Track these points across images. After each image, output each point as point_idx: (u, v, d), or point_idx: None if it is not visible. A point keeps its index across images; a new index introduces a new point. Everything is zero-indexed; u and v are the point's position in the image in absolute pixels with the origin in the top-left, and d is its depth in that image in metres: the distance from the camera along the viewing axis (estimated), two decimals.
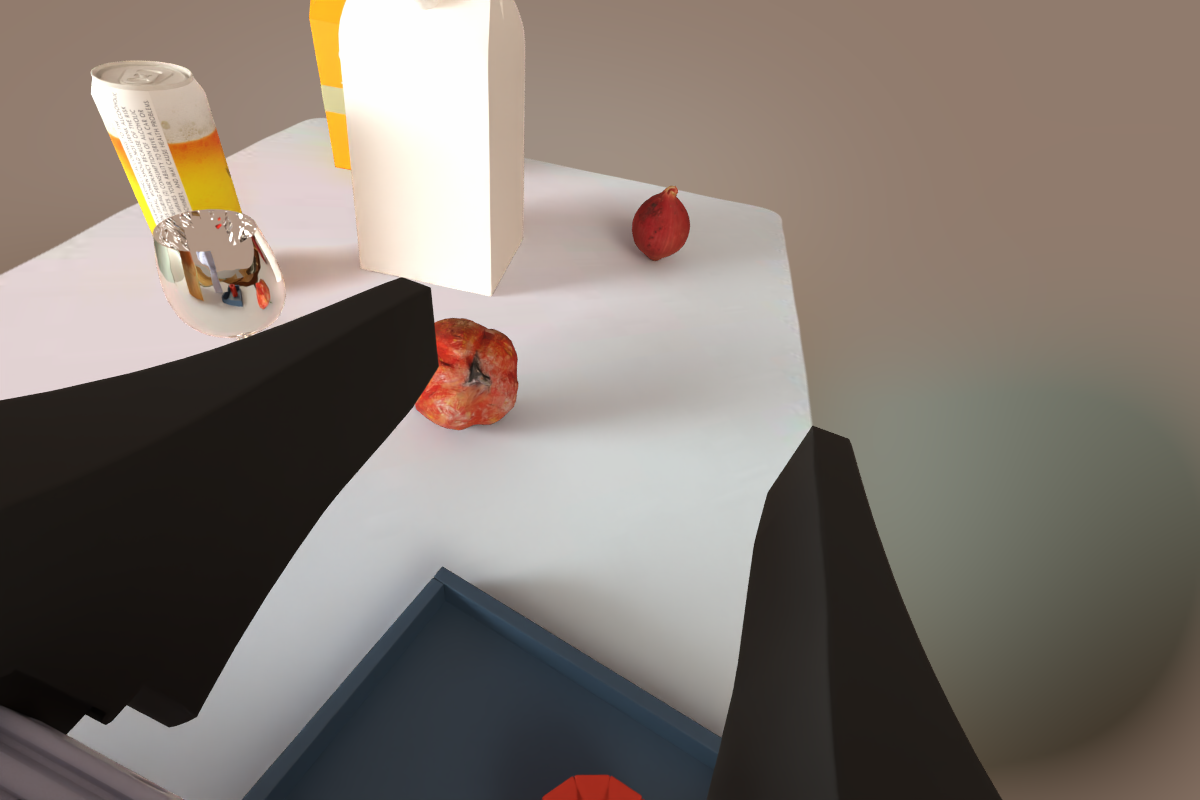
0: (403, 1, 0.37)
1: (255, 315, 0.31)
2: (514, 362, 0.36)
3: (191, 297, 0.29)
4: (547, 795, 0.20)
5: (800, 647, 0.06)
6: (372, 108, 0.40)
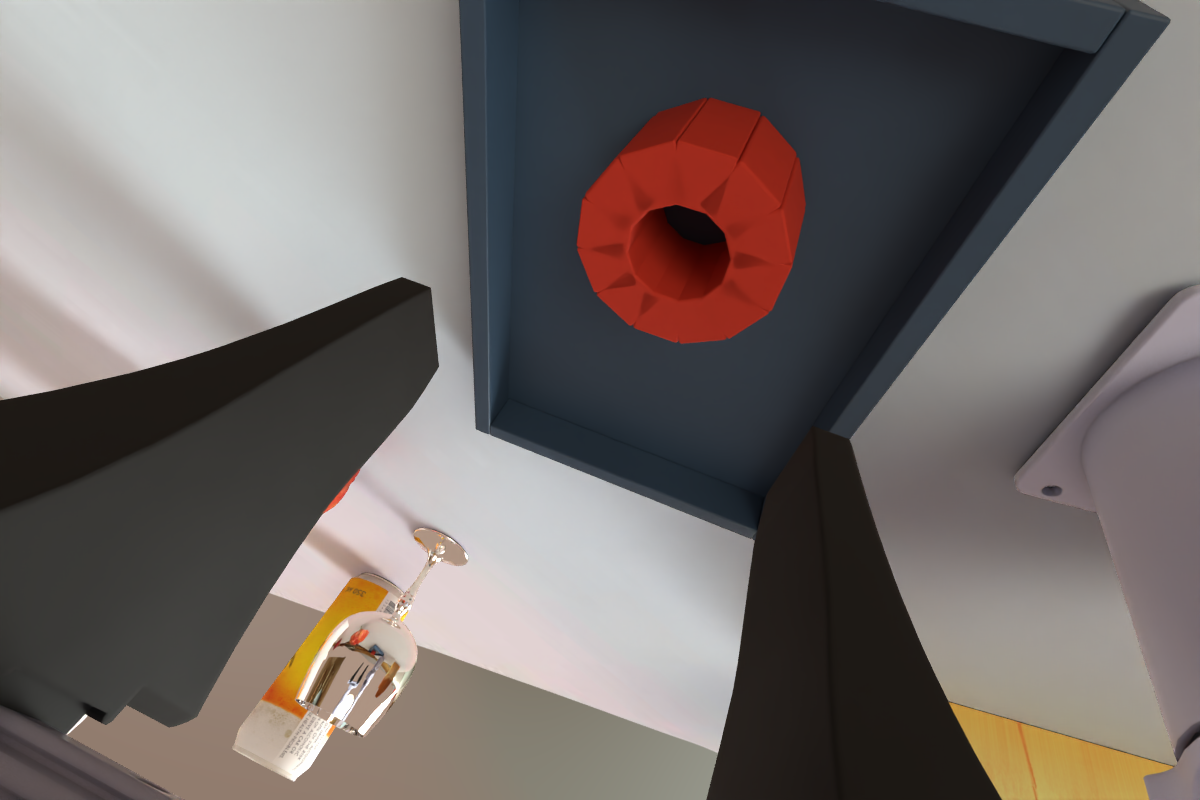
0: None
1: (371, 641, 0.33)
2: None
3: (390, 688, 0.33)
4: (626, 321, 0.16)
5: (800, 647, 0.06)
6: None
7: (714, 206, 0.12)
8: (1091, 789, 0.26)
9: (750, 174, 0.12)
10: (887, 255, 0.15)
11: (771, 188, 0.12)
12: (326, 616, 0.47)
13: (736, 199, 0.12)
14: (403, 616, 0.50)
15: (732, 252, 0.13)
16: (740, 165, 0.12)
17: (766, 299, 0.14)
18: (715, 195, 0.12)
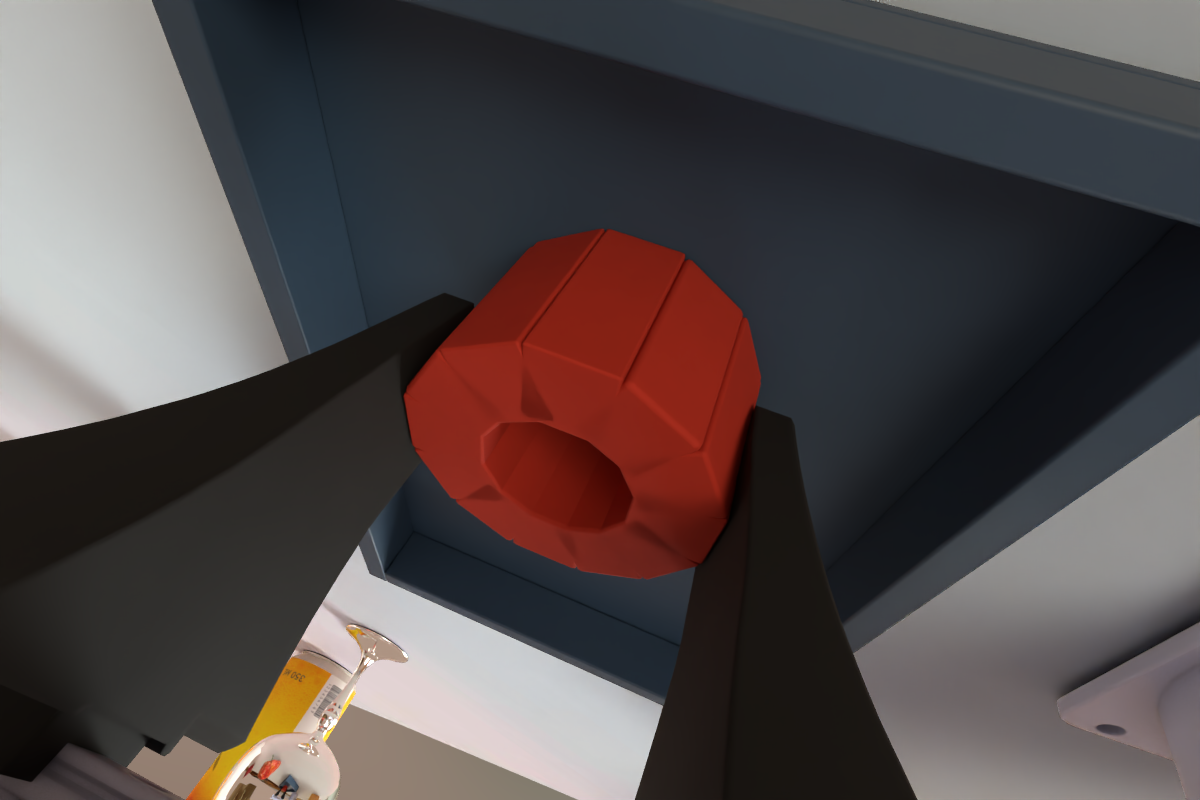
0: None
1: (279, 780, 0.28)
2: None
3: None
4: (502, 535, 0.11)
5: (723, 615, 0.07)
6: None
7: (597, 434, 0.08)
8: None
9: (646, 402, 0.07)
10: (883, 449, 0.10)
11: (685, 418, 0.07)
12: None
13: (629, 430, 0.07)
14: (349, 699, 0.45)
15: (634, 491, 0.08)
16: (628, 387, 0.07)
17: (693, 550, 0.09)
18: (595, 420, 0.07)
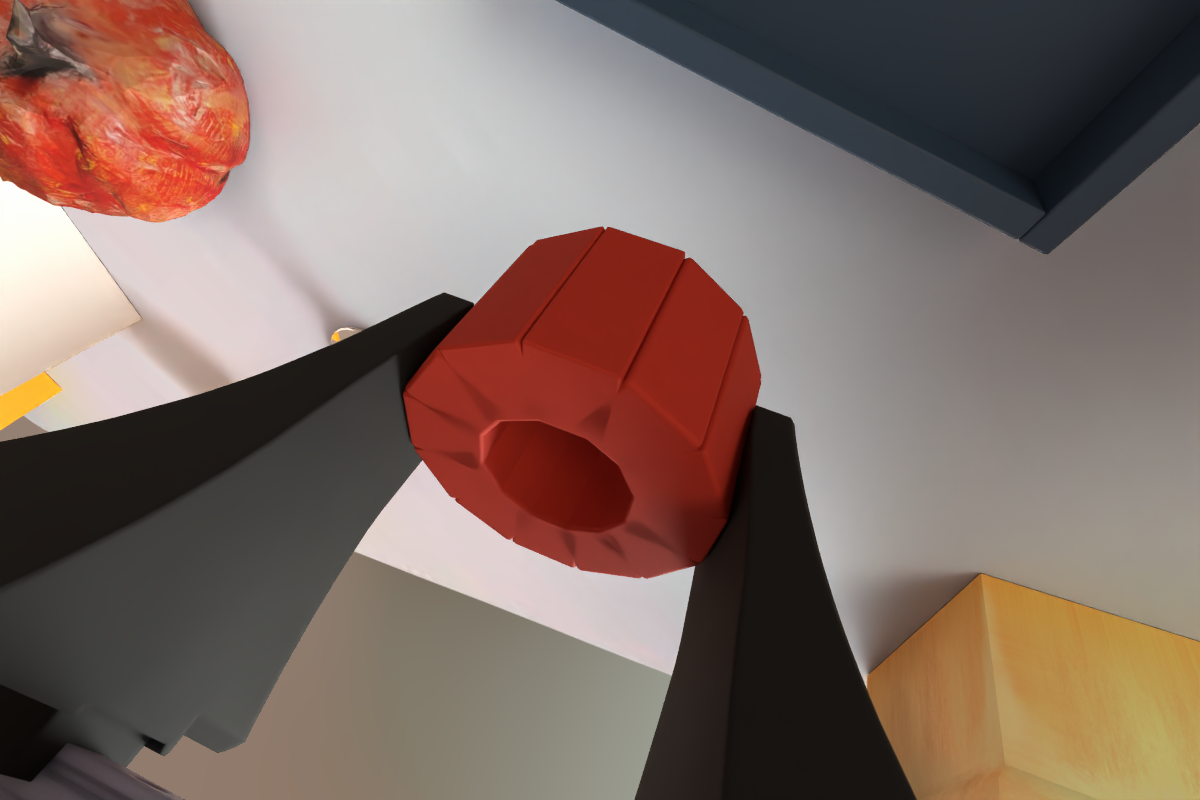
0: None
1: None
2: None
3: None
4: None
5: (723, 614, 0.07)
6: None
7: (597, 433, 0.07)
8: None
9: (647, 400, 0.07)
10: None
11: (685, 417, 0.07)
12: None
13: (629, 428, 0.07)
14: None
15: (634, 490, 0.08)
16: (628, 386, 0.07)
17: (693, 550, 0.09)
18: (595, 419, 0.07)
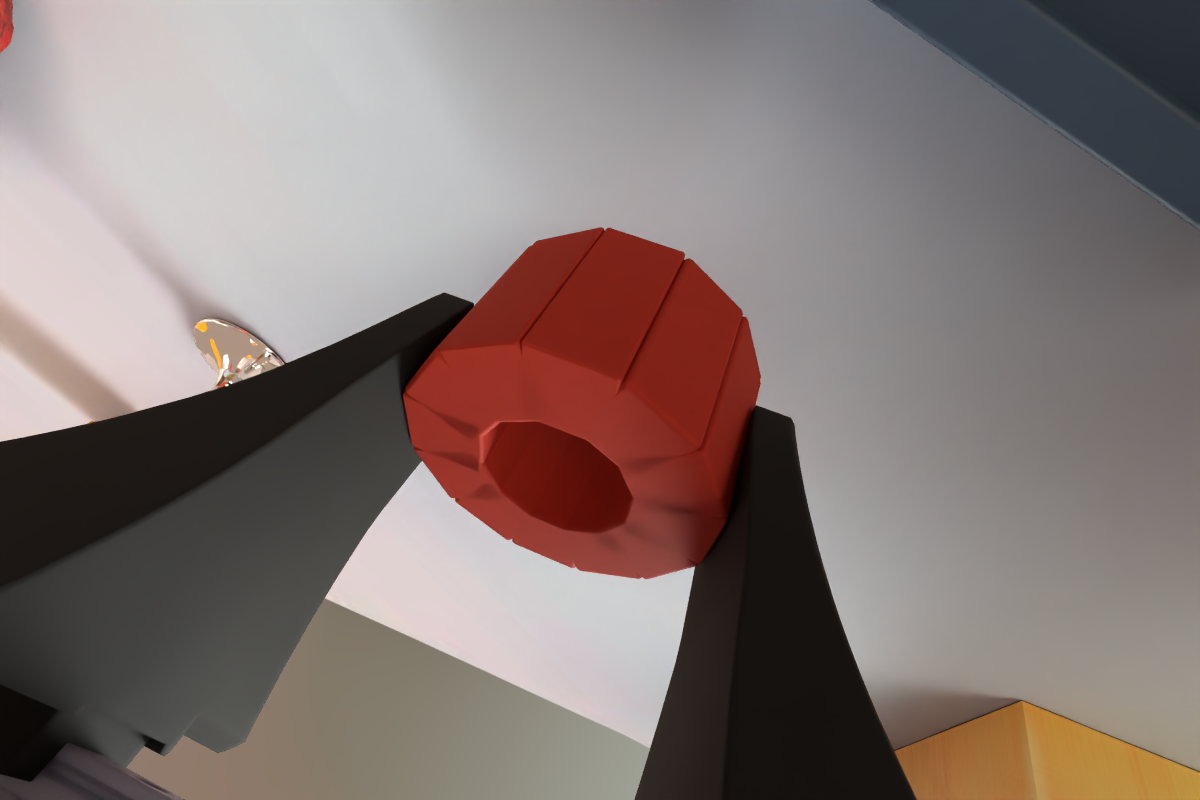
0: None
1: None
2: None
3: None
4: (501, 535, 0.11)
5: (723, 614, 0.07)
6: None
7: (596, 434, 0.08)
8: None
9: (646, 401, 0.07)
10: None
11: (684, 418, 0.07)
12: None
13: (628, 429, 0.07)
14: None
15: (633, 491, 0.08)
16: (628, 387, 0.07)
17: (693, 550, 0.09)
18: (595, 419, 0.07)
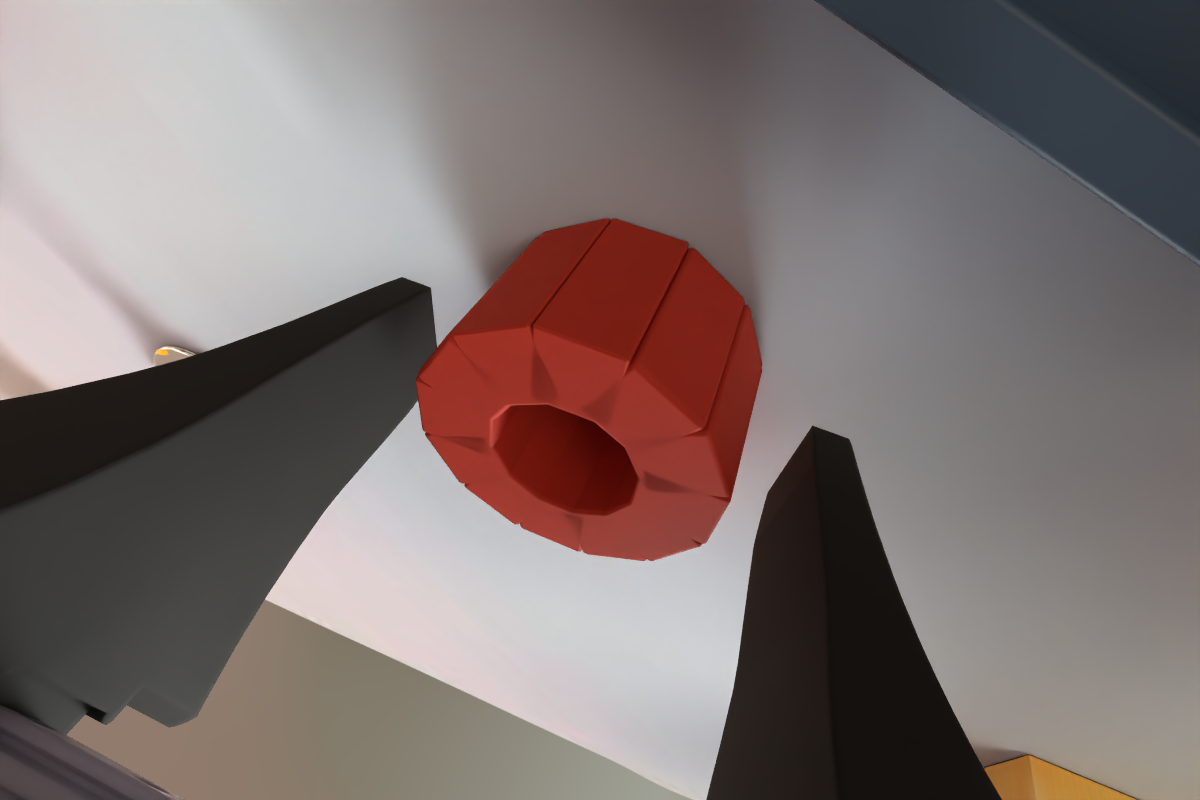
0: None
1: None
2: None
3: None
4: None
5: (800, 647, 0.06)
6: None
7: (603, 415, 0.08)
8: None
9: (653, 382, 0.07)
10: None
11: (689, 399, 0.07)
12: None
13: (635, 410, 0.08)
14: None
15: (639, 472, 0.08)
16: (635, 368, 0.07)
17: (696, 530, 0.09)
18: (603, 401, 0.08)
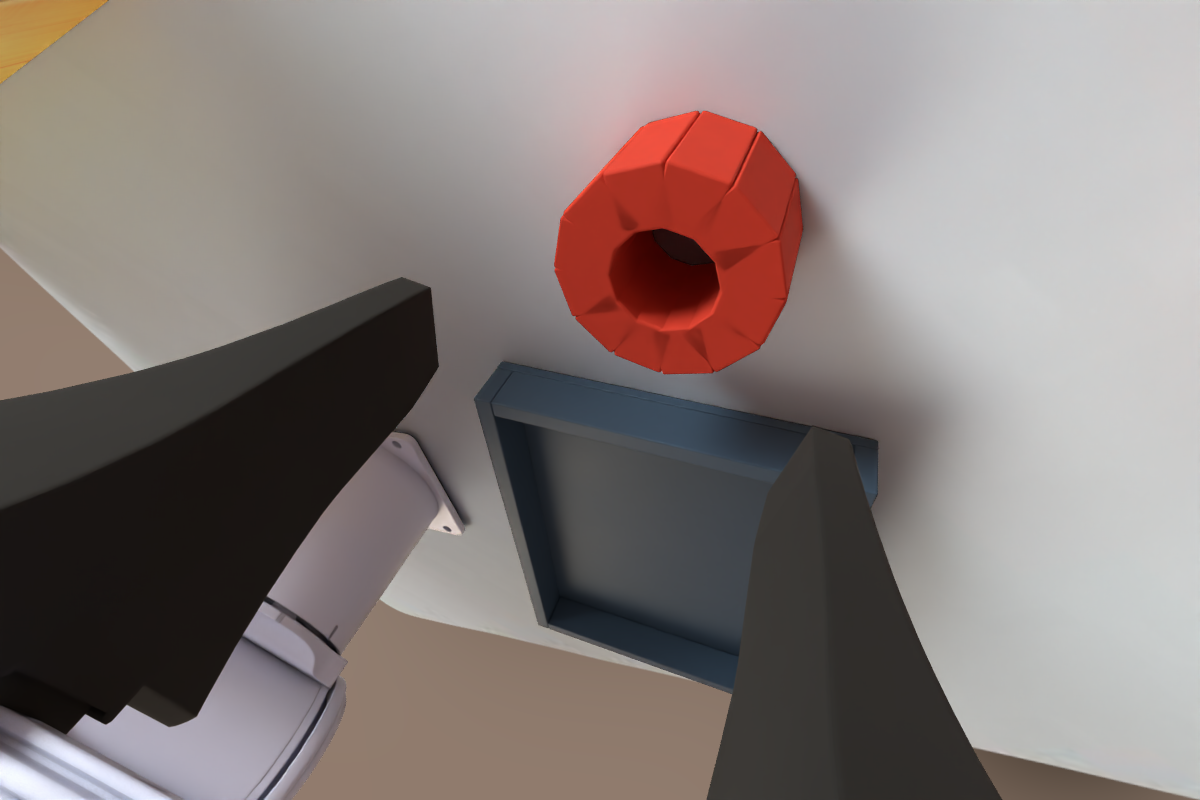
0: None
1: None
2: None
3: None
4: (674, 166, 0.11)
5: (800, 647, 0.06)
6: None
7: (657, 338, 0.14)
8: None
9: (647, 367, 0.14)
10: (564, 551, 0.29)
11: None
12: None
13: (645, 348, 0.14)
14: None
15: (620, 309, 0.13)
16: (658, 369, 0.14)
17: (565, 280, 0.13)
18: (662, 346, 0.14)
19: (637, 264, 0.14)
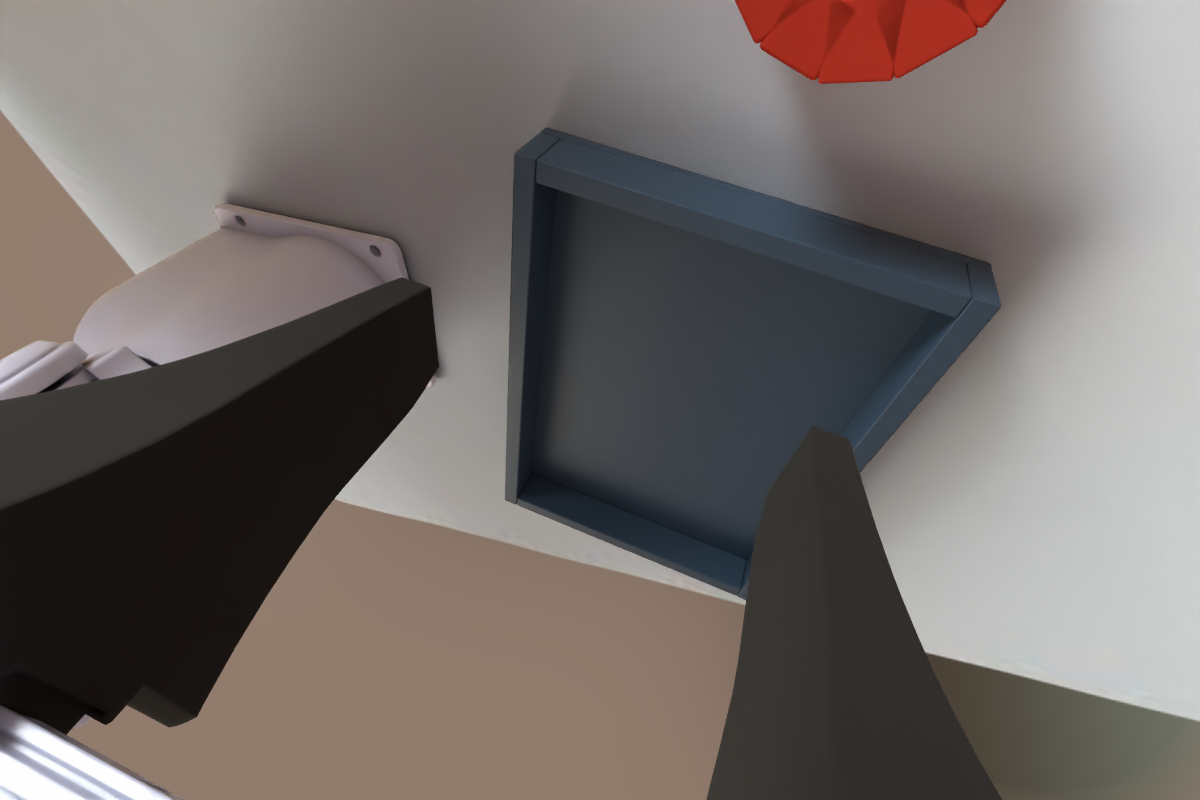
0: None
1: None
2: None
3: None
4: None
5: (800, 647, 0.06)
6: None
7: (835, 14, 0.10)
8: None
9: (800, 71, 0.11)
10: (554, 412, 0.25)
11: None
12: None
13: (810, 35, 0.11)
14: None
15: None
16: (814, 76, 0.11)
17: None
18: (836, 30, 0.10)
19: None
